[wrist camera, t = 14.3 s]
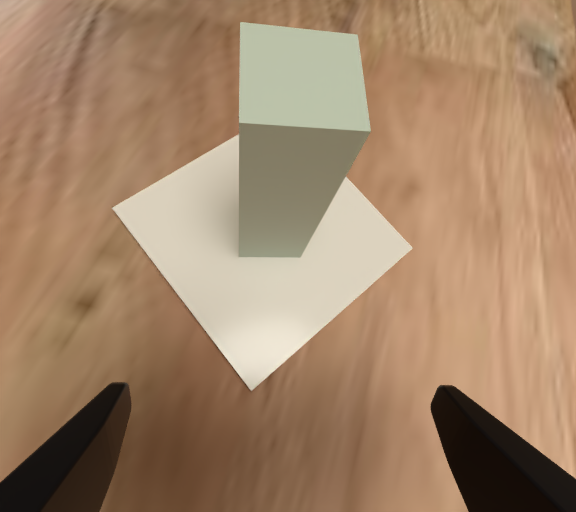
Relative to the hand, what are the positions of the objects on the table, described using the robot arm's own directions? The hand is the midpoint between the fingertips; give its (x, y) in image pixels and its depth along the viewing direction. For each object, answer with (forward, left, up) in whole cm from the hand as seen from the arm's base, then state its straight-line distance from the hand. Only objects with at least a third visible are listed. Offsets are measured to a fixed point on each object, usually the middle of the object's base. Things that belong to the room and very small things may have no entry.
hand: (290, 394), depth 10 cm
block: (+7, +8, -13) cm, 17 cm away
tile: (+7, +8, -14) cm, 17 cm away
